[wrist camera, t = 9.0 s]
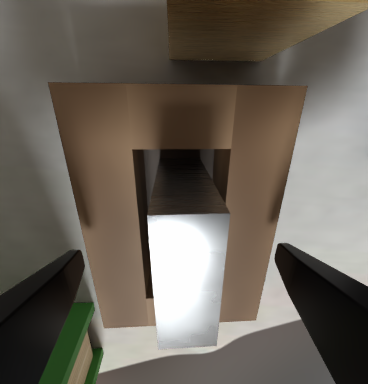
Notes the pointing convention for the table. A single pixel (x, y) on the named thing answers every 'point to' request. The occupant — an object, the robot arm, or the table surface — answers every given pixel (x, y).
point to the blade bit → (187, 253)
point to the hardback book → (74, 351)
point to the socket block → (147, 168)
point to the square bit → (249, 26)
